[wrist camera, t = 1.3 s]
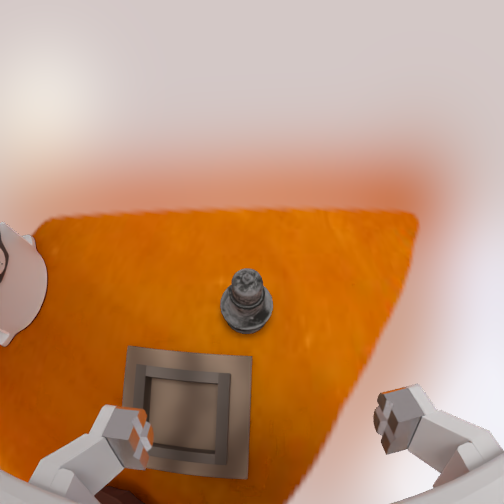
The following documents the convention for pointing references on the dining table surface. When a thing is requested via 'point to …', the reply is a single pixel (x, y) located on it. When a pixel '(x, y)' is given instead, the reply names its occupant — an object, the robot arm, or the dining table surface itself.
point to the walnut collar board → (192, 409)
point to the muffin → (116, 496)
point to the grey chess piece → (246, 302)
